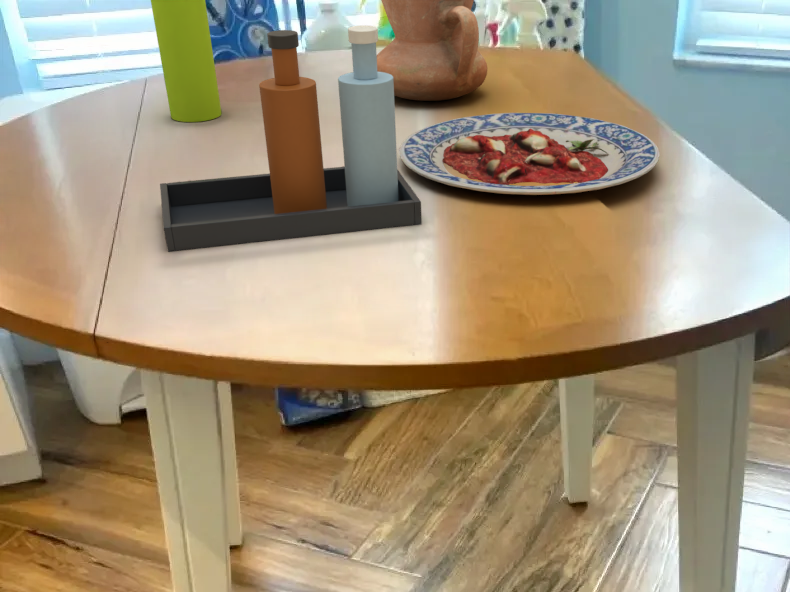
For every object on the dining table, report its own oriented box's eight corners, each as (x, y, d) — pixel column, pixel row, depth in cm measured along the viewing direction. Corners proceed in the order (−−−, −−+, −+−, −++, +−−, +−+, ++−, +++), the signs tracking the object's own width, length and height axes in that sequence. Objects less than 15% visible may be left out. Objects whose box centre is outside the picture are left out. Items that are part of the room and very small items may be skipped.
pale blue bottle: (352, 217, 84) (339, 35, 75) (343, 199, 87) (329, 24, 79) (404, 211, 85) (396, 31, 76) (392, 195, 88) (384, 21, 80)
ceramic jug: (348, 88, 124) (340, -34, 116) (444, 74, 130) (442, -44, 122) (417, 121, 111) (413, -14, 103) (520, 103, 118) (523, -26, 110)
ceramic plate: (428, 226, 84) (427, 193, 82) (381, 142, 105) (379, 114, 103) (700, 201, 89) (705, 169, 87) (604, 125, 109) (606, 98, 108)
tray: (169, 260, 78) (163, 227, 77) (165, 213, 87) (159, 183, 85) (422, 232, 83) (421, 201, 81) (393, 191, 92) (392, 161, 90)
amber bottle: (278, 225, 82) (256, 40, 74) (271, 207, 86) (250, 29, 78) (331, 219, 83) (315, 36, 75) (322, 202, 87) (307, 25, 79)
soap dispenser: (177, 126, 110) (143, -72, 99) (167, 112, 115) (133, -78, 104) (228, 120, 112) (200, -75, 101) (215, 106, 117) (188, -81, 106)
